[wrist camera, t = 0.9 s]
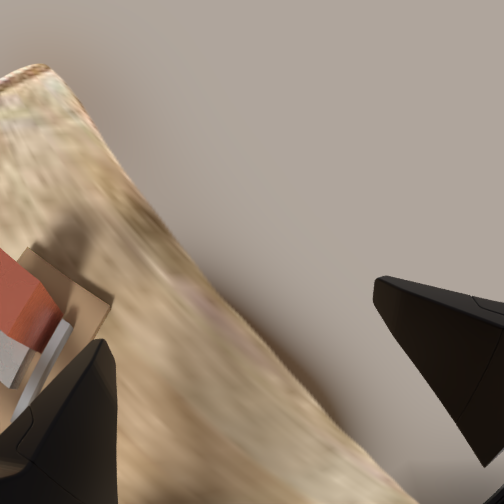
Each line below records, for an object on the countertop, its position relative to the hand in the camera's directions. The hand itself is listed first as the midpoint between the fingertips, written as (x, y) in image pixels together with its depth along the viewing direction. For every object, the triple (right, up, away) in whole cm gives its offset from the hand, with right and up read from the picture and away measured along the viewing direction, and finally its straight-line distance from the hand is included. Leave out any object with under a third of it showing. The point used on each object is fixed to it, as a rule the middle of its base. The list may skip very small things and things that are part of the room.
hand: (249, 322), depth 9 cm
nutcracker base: (-21, -9, +8) cm, 24 cm away
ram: (-18, -5, +9) cm, 21 cm away
